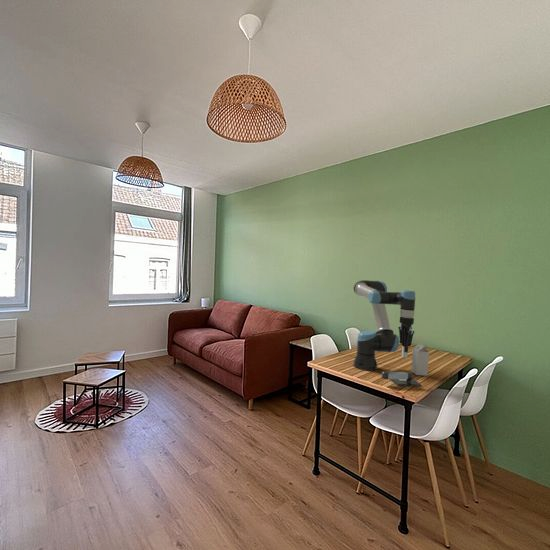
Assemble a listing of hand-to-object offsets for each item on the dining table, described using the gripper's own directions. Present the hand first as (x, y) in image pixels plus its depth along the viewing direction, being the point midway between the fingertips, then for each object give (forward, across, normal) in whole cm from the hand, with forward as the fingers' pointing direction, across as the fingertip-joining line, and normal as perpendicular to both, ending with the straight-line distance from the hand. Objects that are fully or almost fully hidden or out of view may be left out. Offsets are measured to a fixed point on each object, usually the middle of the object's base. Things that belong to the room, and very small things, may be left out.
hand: (404, 357), depth 170 cm
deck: (+14, -2, 0) cm, 14 cm away
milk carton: (+15, -14, +19) cm, 28 cm away
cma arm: (+11, +5, -7) cm, 14 cm away
